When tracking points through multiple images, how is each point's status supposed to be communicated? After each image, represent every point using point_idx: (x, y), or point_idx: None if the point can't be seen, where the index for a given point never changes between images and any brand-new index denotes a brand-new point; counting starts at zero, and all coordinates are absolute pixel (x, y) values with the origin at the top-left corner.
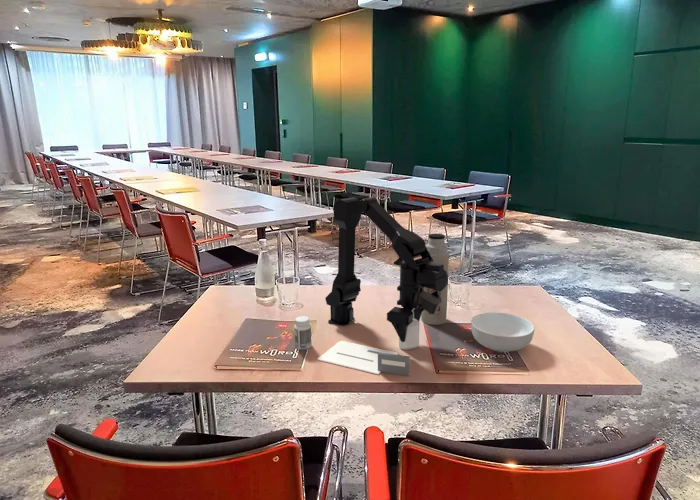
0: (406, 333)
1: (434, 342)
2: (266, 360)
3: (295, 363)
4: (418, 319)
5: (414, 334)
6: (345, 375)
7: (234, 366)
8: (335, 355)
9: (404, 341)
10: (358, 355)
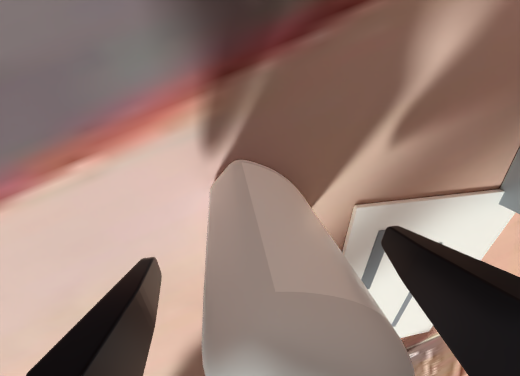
0: (468, 267)
1: (96, 84)
2: (431, 365)
3: (442, 340)
4: (94, 364)
5: (304, 223)
6: (510, 254)
7: (452, 372)
8: (407, 321)
9: (399, 227)
10: (400, 289)
